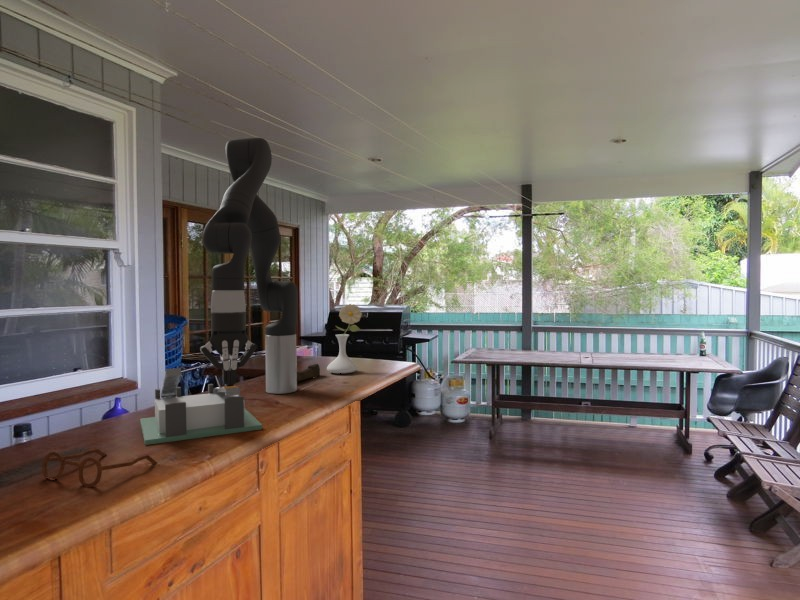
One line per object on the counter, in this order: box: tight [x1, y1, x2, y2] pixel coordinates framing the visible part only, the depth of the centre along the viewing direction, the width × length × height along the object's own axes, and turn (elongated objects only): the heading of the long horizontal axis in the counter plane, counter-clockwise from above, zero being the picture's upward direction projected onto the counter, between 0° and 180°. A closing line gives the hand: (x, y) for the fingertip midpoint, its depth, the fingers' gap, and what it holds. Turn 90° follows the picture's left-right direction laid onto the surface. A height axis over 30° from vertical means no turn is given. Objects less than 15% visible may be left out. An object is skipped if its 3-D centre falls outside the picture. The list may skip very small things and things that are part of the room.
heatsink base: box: [139, 383, 263, 446], centre depth 124 cm, size 20×24×8 cm
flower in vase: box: [326, 303, 363, 374], centre depth 194 cm, size 13×11×25 cm
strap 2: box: [213, 385, 241, 396], centre depth 127 cm, size 16×3×2 cm, turn 28°
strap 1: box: [160, 367, 182, 398], centre depth 122 cm, size 16×3×2 cm, turn 28°
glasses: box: [41, 448, 158, 488], centre depth 96 cm, size 13×13×5 cm
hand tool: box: [297, 363, 321, 383], centre depth 181 cm, size 19×4×5 cm, turn 155°
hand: (229, 386), depth 123 cm, fingers closed
